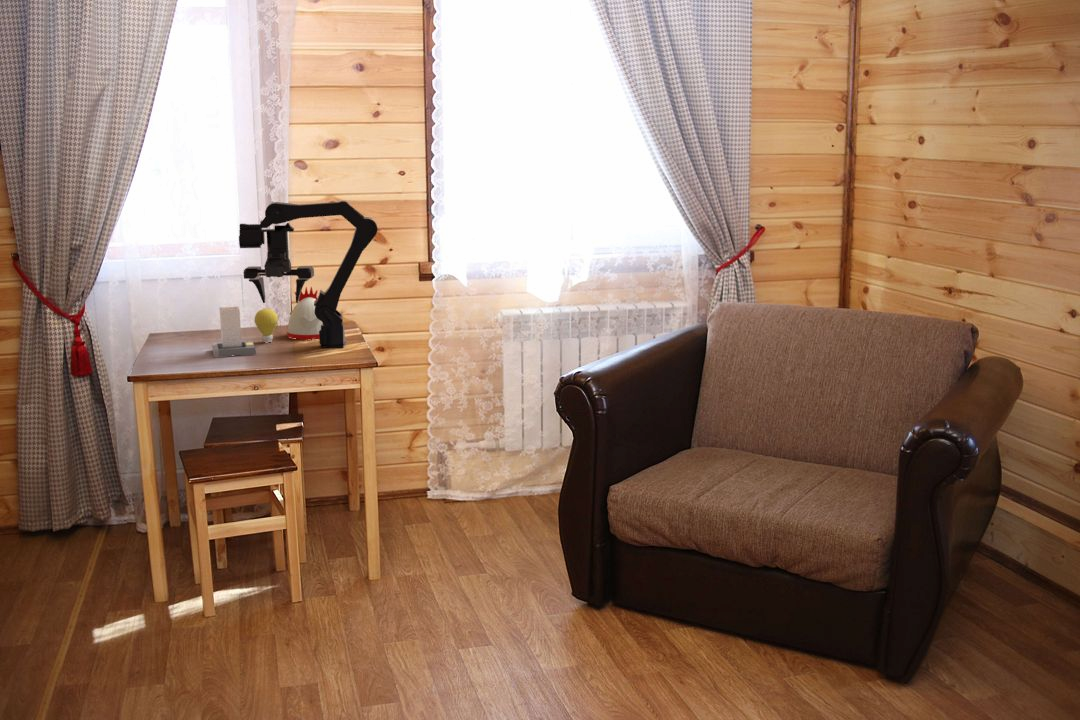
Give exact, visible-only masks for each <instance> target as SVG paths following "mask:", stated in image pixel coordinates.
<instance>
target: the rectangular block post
mask: <svg viewBox="0 0 1080 720" xmlns="http://www.w3.org/2000/svg"><path fill="white" fill-rule="evenodd" d="M218 310H219V321H220V323H219V324H220V337H221V343H222V349H226V348H242V343H241V341H242V331H241V328H242V327H241V315H240V308H239V306H225V307H219V309H218Z"/></svg>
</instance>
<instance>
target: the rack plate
mask: <svg viewBox="0 0 1080 720" xmlns="http://www.w3.org/2000/svg"><path fill="white" fill-rule="evenodd" d="M241 343H242V348H226V349H222V342H213V343H212V344H211V347H212V348H211V349H212V354H213V358H219V357H218V356H227V357H233V356H232V355H242V356H255V355H254V354H256V346H255V344H254V341H253V340H247V341H246V340H243V341H242V340H241Z"/></svg>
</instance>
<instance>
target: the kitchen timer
mask: <svg viewBox="0 0 1080 720" xmlns="http://www.w3.org/2000/svg"><path fill="white" fill-rule="evenodd" d="M304 289H305V291H304V293H303V291H301V294H300V297H299V301H298V303H296V304H295V306H294V307H293V309H292V310H291V311H290V312H289V320H288V324H287V331H286V333H287V335H286V336H288V337H291V338H296V339H307V340H306V341H309V340H308V339H311V340H310V341H313V340H312V339H319V331H320V329H321V325H322V324H323V323H322V321H320V320H319V319H317V317H316V316H315V306H314V301H315V300H316V299H317V298H318V296H317V295H318V289H316V290H315V291H313V287H312V286H310V290H309V291H308V287H307V286H305V288H304ZM294 295H295V296H296V291H294ZM288 337H287V338H288Z"/></svg>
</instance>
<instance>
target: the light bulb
mask: <svg viewBox="0 0 1080 720" xmlns="http://www.w3.org/2000/svg"><path fill="white" fill-rule="evenodd" d="M278 323H279V317H278V315H277V312H275V311H274V310H273V309H270V308H262V309H260V310H259V311H257V312H256V314H255V316H254V324H255V326H256V328H257V329H258V330H259V332H260V333H261V334H262V335H261V340H263V341H262V342H271V343H272V340H273V338H274V335H273V332H274V331H275V329H276V328H277V327H276V326H277V325H278Z"/></svg>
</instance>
